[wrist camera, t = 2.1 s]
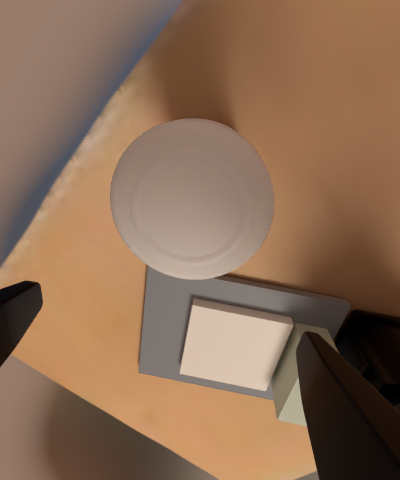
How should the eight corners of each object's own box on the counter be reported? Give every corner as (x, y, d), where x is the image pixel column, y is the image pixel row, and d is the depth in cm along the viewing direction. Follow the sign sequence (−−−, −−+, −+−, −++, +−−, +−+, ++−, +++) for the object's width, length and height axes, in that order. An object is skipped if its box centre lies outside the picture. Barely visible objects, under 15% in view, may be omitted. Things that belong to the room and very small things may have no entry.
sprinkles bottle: (174, 169, 20) (85, 245, 7) (199, 109, 18) (135, 79, 6) (227, 196, 20) (225, 308, 8) (257, 139, 18) (315, 173, 6)
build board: (347, 299, 23) (376, 341, 18) (297, 398, 29) (309, 447, 24) (150, 261, 23) (132, 292, 19) (140, 366, 29) (125, 409, 25)
